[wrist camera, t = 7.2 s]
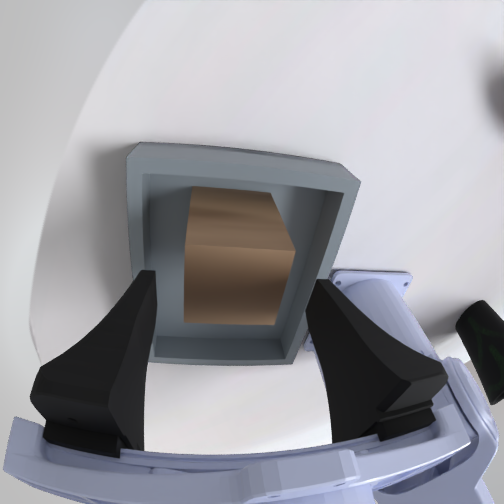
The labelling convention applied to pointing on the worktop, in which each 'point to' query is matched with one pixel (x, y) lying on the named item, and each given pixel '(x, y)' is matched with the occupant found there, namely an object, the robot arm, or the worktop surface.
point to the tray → (174, 235)
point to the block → (235, 257)
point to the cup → (485, 346)
